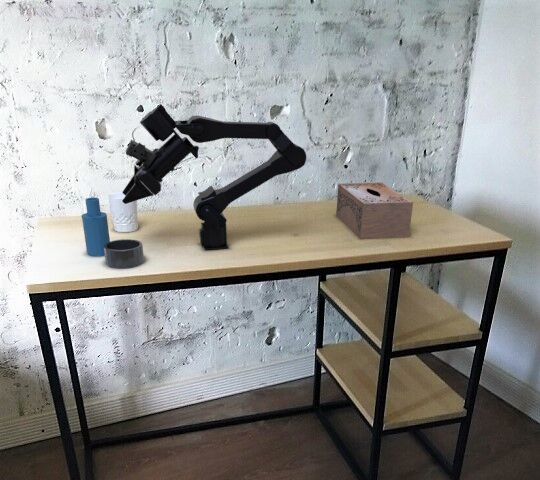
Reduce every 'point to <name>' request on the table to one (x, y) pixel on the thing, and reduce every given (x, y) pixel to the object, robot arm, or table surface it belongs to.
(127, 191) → the robot arm
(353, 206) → the tissue box cover
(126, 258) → the cup holder
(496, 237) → the table surface
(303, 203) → the table surface
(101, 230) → the bottle
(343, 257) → the table surface
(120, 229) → the white cup
